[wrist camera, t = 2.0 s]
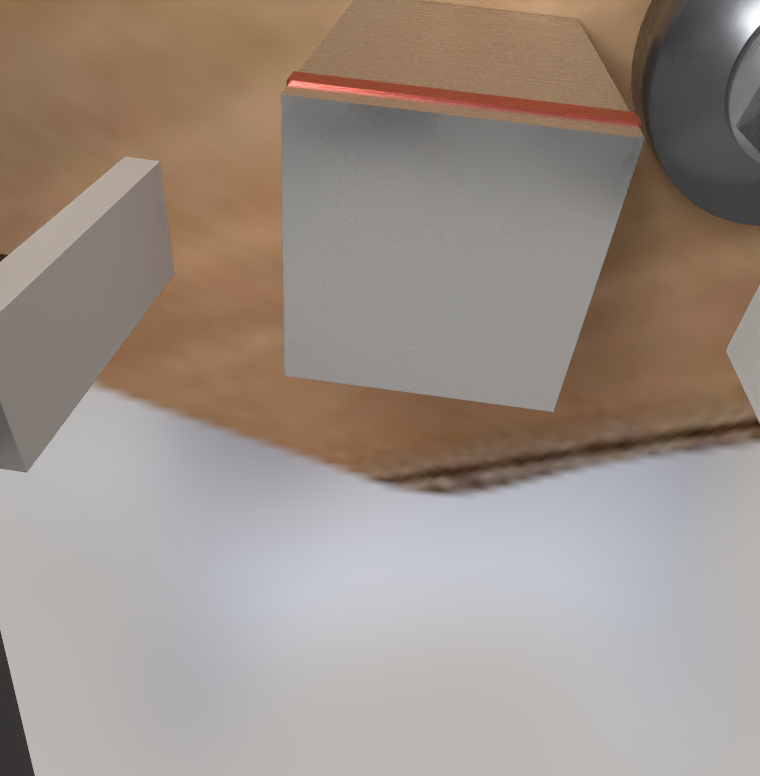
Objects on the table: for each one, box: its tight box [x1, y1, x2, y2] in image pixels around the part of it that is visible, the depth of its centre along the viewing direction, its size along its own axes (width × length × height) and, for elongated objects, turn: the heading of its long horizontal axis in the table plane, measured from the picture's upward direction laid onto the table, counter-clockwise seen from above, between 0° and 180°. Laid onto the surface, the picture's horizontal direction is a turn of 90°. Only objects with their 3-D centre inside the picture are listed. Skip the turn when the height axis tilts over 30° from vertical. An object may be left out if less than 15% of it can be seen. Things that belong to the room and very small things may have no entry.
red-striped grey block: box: [281, 0, 645, 412], centre depth 18 cm, size 6×6×10 cm
